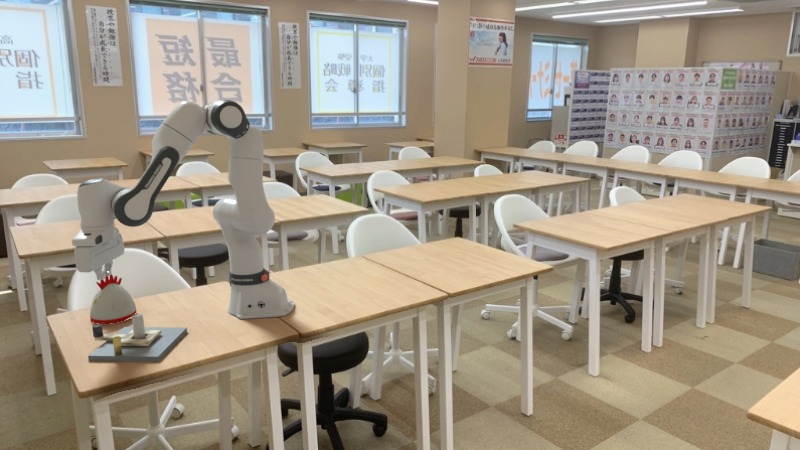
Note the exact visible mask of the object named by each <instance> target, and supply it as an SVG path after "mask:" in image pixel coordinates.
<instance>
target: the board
mask: <svg viewBox="0 0 800 450" xmlns="http://www.w3.org/2000/svg"><path fill="white" fill-rule="evenodd" d="M131 321H132V326H124V327H122V328H121V329H120V330H118V332H116V333H115V334H128V333H129V332H130V331H132V330H133V332H134V339H144V338H145V337H146V336H145V330H161V332H162V333H161V334H160V335H159V336H158V337H157V338H156V339H155V340H154V341H153V342H152V343H151V344H150V345H148V346H122V353H123V354H122V355H119V356H115V353H114V346H113V341H105V342H103V343H102V344H101V345H100V346H98V347H97V348H96V349H95V350H94V351H92V352H91V353H89V354H88V355H87V359H88V361H89V362H90V361H91V362H92V361H93V362H95V361H96V362H99V361H100V362H160V361H161V360H162V359H163V357H164V356H166V355H167V354H168V352H170V350H171V349H173V347H174V346H175V345H177V343H178V342H179V341H180V340H181V339H182V338H183V337H184V336H185V335H186V334H187V333H188V327H178V326H177V327H172V326H171V327H169V326H168V327H164V326H161V327H160V326H159V327H157V326H155V327H154V326H152V327H151V326H145V322H144V314H142V313H136V314H135V315H133V316H132V318H131Z"/></svg>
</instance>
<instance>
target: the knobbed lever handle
mask: <svg viewBox="0 0 800 450" xmlns="http://www.w3.org/2000/svg"><path fill="white" fill-rule="evenodd" d="M91 329H92V335H93V338H94V341H101V342H102V341H103V342H104V341H105V342H106V341H113V337H116V336H120V337H121V345H122V346H148V345H150V344H151V343H152V342H153V341H154V340H155V339H156V338H157V337H158V336H159V335H160V334H161V333H162V332H161V330H145V336H146V337H145V338H144V339H134V332H133V330H132V331H130V332H129V333H128V334H116V333H104V329H103V325H99V324H95V325H92V327H91Z"/></svg>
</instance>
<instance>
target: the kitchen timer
mask: <svg viewBox="0 0 800 450" xmlns="http://www.w3.org/2000/svg"><path fill="white" fill-rule="evenodd" d="M122 278H123V277H119V279H118V275H113V274H111V275H110V276H105V279H103V280H99V281H100V282H98V281H96V285H97V286H98V287H99V288H98V290H97V291H96V292H95V294H94V296H93V299H92V302H91V306H90V311H89V317H90V322H91V321H92V322H94V323H99V324H107V325H111V324H110V323H115V324H118V323H117V322H120V323H122V322H121V321H124V320H126V319H128V318H130V317H132V316H133V315H135V313H136V312H137V307H136V304H135V303H136V302H135V301H134V299H133V297H132V295H131V294H130V293H129V291H128V290H127V289H126V288H125V287H123V285H121V283H122ZM136 314H137V313H136ZM92 322H91V323H92ZM124 322H125V321H124ZM94 323H93V324H94ZM99 324H98V325H99Z"/></svg>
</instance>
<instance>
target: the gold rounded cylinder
mask: <svg viewBox="0 0 800 450" xmlns="http://www.w3.org/2000/svg"><path fill="white" fill-rule="evenodd" d="M113 346H114V353H115V356H119V355H122V354H123V353H122V345H121V337H120V336H116V337H113Z"/></svg>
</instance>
